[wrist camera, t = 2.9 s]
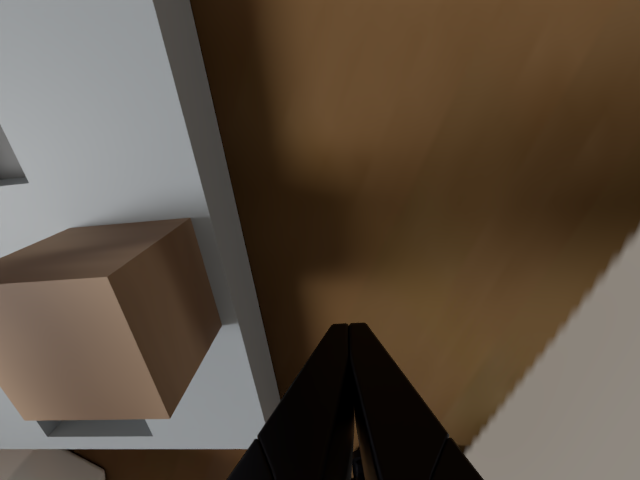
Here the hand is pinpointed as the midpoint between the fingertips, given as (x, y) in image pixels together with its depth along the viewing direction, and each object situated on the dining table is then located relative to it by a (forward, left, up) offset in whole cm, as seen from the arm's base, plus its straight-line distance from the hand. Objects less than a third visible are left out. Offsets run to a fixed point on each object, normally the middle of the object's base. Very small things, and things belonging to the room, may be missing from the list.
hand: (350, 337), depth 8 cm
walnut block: (+8, 0, -4) cm, 8 cm away
